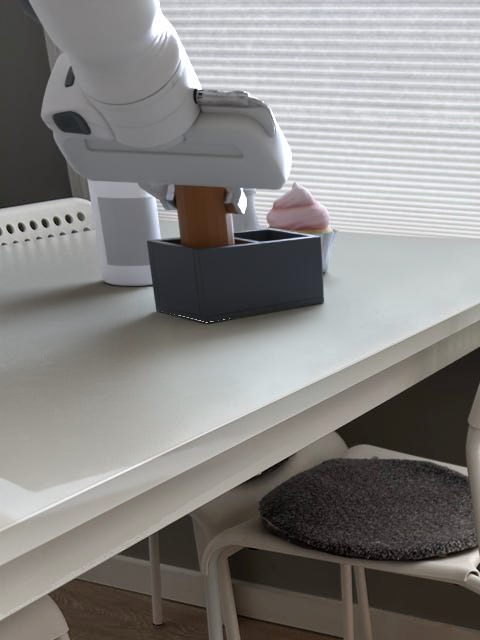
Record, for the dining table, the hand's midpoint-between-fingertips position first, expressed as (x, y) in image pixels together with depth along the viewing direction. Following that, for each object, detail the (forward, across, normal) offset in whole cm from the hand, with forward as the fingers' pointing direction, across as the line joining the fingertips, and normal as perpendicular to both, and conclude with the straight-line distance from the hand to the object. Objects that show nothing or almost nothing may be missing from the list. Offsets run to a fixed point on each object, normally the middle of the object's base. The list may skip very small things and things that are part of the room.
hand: (206, 206), depth 92 cm
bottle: (+6, 0, +6) cm, 8 cm away
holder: (+9, -2, +5) cm, 10 cm away
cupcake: (+25, 0, -11) cm, 27 cm away
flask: (+18, +3, -4) cm, 18 cm away
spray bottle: (+15, +15, -1) cm, 21 cm away
